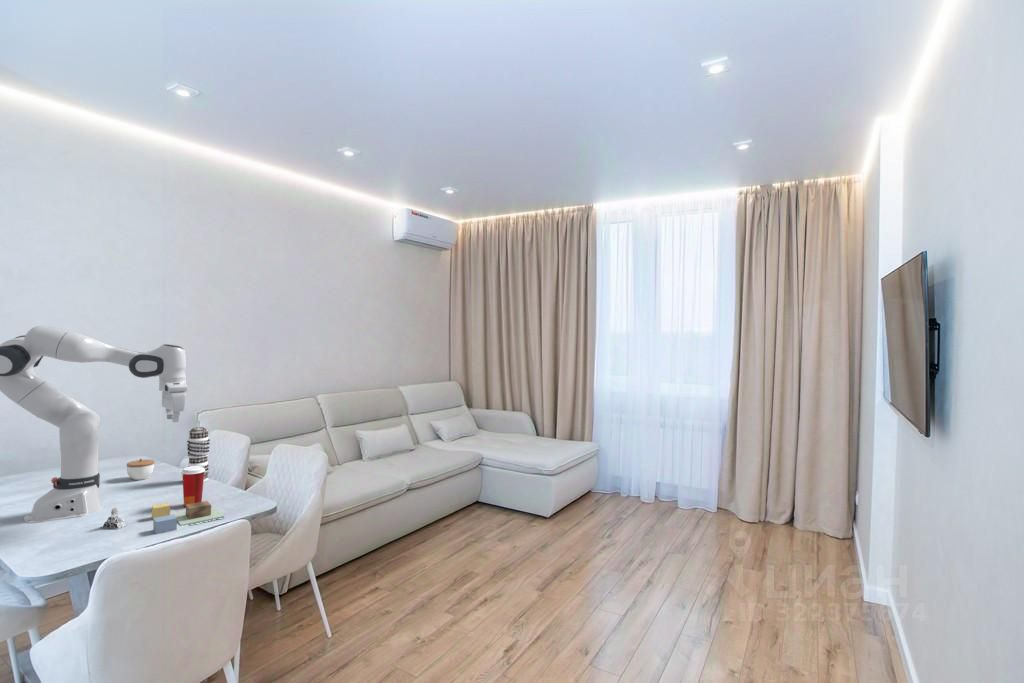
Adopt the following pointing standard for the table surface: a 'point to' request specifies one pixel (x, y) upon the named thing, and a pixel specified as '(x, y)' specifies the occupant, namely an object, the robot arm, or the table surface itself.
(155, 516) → the ochre brick
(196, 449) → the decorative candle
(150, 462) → the lidded jar
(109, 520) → the grey lumpy mound
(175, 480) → the table surface
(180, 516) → the sage board
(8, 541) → the table surface
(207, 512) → the base brick
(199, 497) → the coffee cup
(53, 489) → the robot arm
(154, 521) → the slate brick
